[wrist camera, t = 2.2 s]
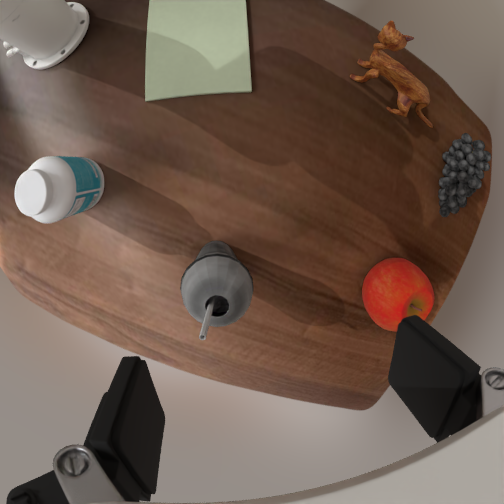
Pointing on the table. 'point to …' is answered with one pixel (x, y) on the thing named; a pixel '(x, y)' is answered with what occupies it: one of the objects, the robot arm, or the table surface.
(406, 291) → the apple
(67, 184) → the pill bottle
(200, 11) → the mat
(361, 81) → the cat figurine
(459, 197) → the fruit
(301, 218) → the table surface
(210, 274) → the beverage cup
